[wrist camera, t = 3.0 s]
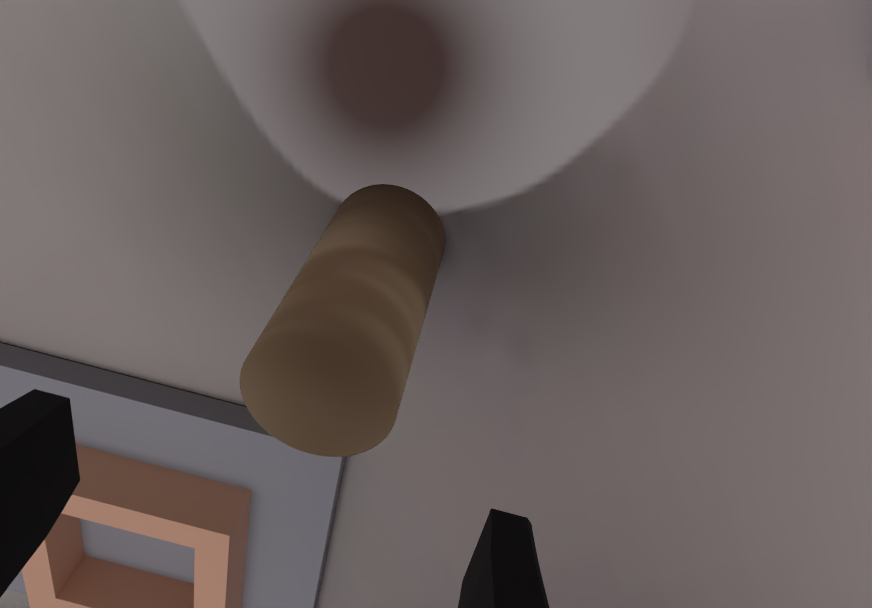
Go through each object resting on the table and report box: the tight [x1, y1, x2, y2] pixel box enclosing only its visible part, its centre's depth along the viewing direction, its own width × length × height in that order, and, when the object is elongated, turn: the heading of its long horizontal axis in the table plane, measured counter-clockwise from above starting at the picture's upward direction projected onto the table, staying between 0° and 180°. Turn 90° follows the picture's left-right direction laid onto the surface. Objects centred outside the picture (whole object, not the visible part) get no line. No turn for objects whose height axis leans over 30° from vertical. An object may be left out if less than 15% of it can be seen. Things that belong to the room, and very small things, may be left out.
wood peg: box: [240, 184, 445, 457], centre depth 16 cm, size 3×3×7 cm
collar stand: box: [0, 343, 346, 608], centre depth 26 cm, size 14×14×3 cm
